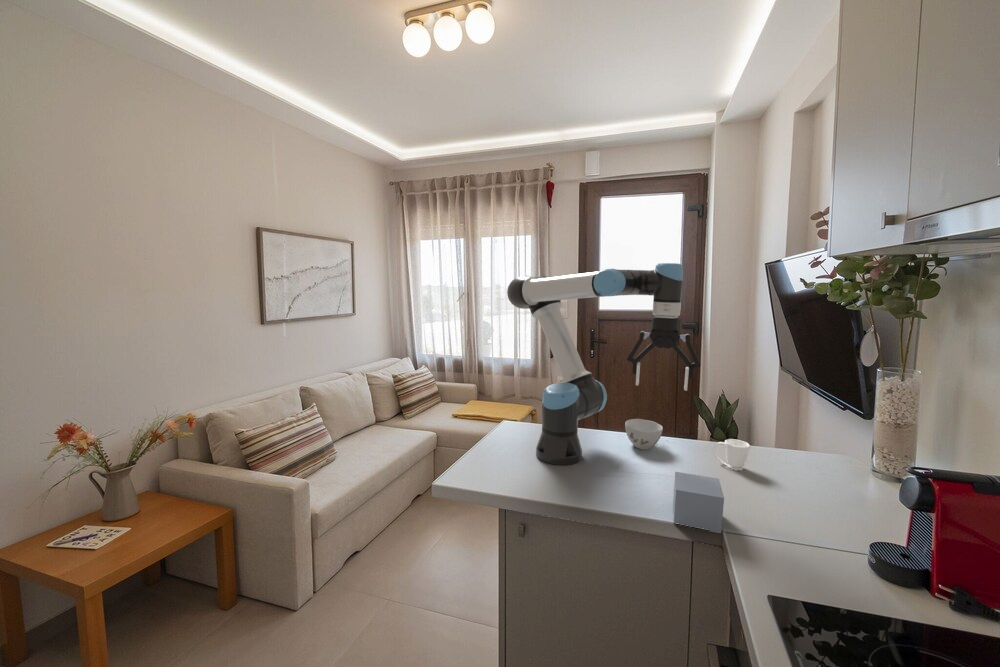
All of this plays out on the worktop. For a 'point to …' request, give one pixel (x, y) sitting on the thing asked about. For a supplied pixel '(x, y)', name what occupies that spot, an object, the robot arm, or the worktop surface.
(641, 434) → the teacup
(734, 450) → the cup
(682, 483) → the matte grey cuboid
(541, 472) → the worktop surface
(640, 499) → the worktop surface
